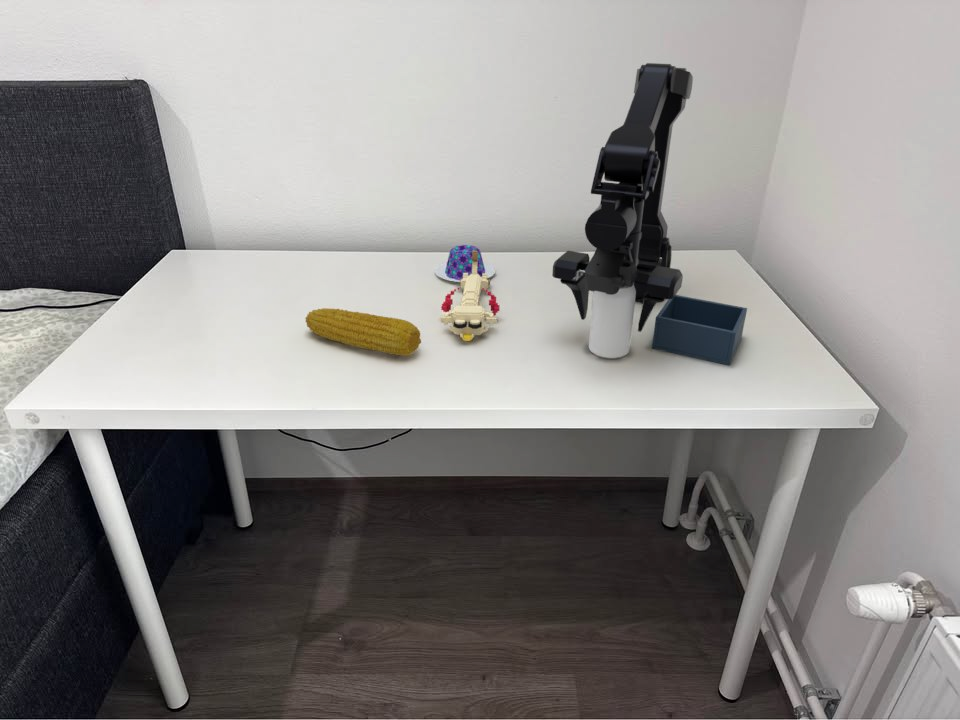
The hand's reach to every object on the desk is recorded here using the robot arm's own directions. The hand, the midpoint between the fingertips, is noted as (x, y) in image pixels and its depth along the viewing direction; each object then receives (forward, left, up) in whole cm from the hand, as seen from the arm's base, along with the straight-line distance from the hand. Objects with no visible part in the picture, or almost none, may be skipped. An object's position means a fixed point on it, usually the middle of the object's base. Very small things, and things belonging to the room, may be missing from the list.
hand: (611, 324), depth 111 cm
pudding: (-36, +18, -5) cm, 40 cm away
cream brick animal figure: (-26, +2, -5) cm, 26 cm away
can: (0, 0, -5) cm, 5 cm away
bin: (+12, +9, -5) cm, 16 cm away
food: (-36, -17, -5) cm, 40 cm away
